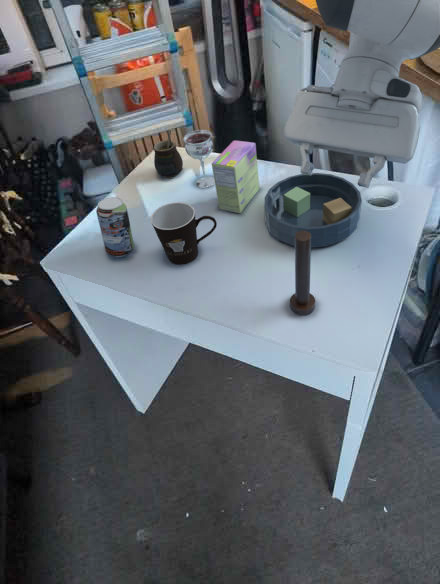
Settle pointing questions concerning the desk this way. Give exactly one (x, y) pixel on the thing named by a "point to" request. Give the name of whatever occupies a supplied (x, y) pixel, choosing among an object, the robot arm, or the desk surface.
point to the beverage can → (115, 227)
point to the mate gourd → (167, 158)
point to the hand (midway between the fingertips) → (333, 180)
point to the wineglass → (200, 152)
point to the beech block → (336, 211)
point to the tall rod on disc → (302, 276)
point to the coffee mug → (179, 231)
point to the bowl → (312, 209)
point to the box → (236, 176)
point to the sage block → (296, 201)
